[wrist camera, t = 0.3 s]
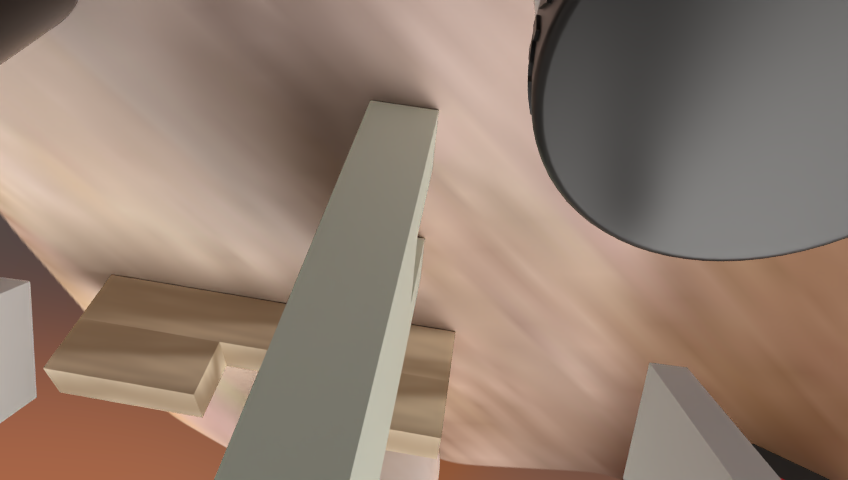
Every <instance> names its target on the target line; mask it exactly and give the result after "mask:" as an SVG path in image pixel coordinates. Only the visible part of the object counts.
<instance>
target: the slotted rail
mask: <svg viewBox="0 0 848 480" xmlns="http://www.w3.org/2000/svg"><path fill="white" fill-rule="evenodd" d="M285 306H286V304H284V303H278V302H272V301H266V300H260V299H254V298H248V297H242V296H236V295H230V294H224V293H218V292H212V291H206V290H200V289H194V288H188V287H182V286H176V285H170V284H164V283H158V282H152V281H146V280H140V279H134V278H128V277H122V276H116V275H111V276H110V277H109V279H108V280H107V281H106V283H105V284H104V286H103V287H102V288H101V290H100V291H99V292H98V294H97V295H96V297H95V298H94V299H93V301H92V302H91V303H90V305H89V306H88V308H87V309H86V310H85V312H84V313H83V315H82V316H81V317H80V318H79V320H78V321H77V323H76V324H75V325H74V327H73V328H72V329H71V331H70V332H69V334H68V335H67V336H66V338H65V339H64V341H63V342H62V343H61V344H60V346H59V347H58V349H57V350H56V351H55V353H54V354H53V355H52V357H51V358H50V360H49V361H48V362H47V364H46V365H45V366H44V370H45V371H46V373H47V374H48V376H49V377H50V379H51V380H52V382H53V383H54V384H55V386H56V387H57V389H58V390H59V391H60V392H62V393H67V394H73V395H79V396H84V397H90V398H95V399H101V400H107V401H112V402H118V403H123V404H129V405H135V406H140V407H146V408H152V409H158V410H163V411H168V412H174V413H179V414H185V415H191V416H196V417H202V418H203V416H204V413H205V411H206V409H207V407H208V405H209V403H210V400H211V398H212V396H213V394H214V392H215V390H216V387H217V385H218V383H219V381H220V379H221V377H222V374H223V372H224V370H225V368H226V366H230V367H236V368H242V369H248V370H254V371H259V369H260V367H261V365H262V362H263V360H264V357H265V355H266V352H267V350H268V348H269V345H270V343H271V340H272V338H273V335H274V333H275V331H276V328H277V326H278V323H279V321H280V318H281V316H282V314H283V311H284V309H285ZM454 338H455V332H452V331H446V330H440V329H434V328H428V327H422V326H416V325H411V327H410V332H409V337H408V342H407V347H406V352H405V357H404V362H403V366H402V371H401V376H400V381H399V386H398V391H397V396H396V401H395V406H394V411H393V416H392V420H391V425H390V430H389V435H388V440H387V445H386V450H387V451H393V452H398V453H404V454H409V455H415V456H421V457H426V458H432V459H437V456H438V451H439V446H440V441H441V436H442V428H443V421H444V413H445V406H446V398H447V391H448V383H449V376H450V368H451V361H452V353H453V346H454Z"/></svg>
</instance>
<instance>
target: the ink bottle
mask: <svg viewBox="0 0 848 480" xmlns="http://www.w3.org/2000/svg"><path fill="white" fill-rule="evenodd" d="M77 2H78V0H0V65H1V64H2V63H4V62H5V61H7V60H8V59H9V58H11V57H12V56H14V55H15V54H17V53H18V52H19V51H21V50H22V49H24V48H25V47H27V46H28V45H29V44H31V43H32V42H34V41H35V40H37V39H38V38H39V37H41V36H42V35H44V34H45V33H46V32H48V31H49V30H51V29H52V28H54V27H55V26H56V25H58V24H59V23H60V22H62V21H63V20H64V19H65V18H66V17H67V16H68V15H69V14H70V13H71V11H72V10H73V9H74V7H75V6H76V4H77Z"/></svg>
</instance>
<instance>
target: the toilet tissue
mask: <svg viewBox="0 0 848 480" xmlns="http://www.w3.org/2000/svg"><path fill="white" fill-rule="evenodd" d="M439 468H440V457H439V452H438V456H437V459H432V458H426V457H421V456H415V455H409V454H404V453H398V452H393V451H387V450H385V455H384V460H383V465H382V470H381V474H380V479H379V480H438V477H439Z"/></svg>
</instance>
